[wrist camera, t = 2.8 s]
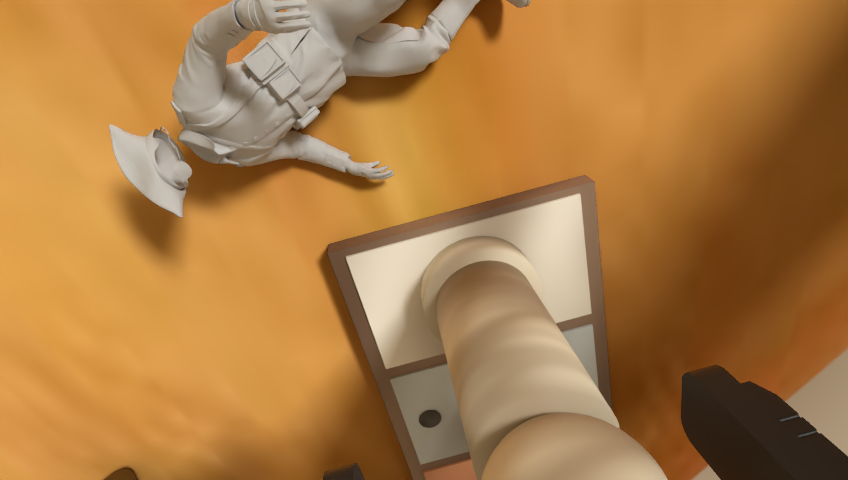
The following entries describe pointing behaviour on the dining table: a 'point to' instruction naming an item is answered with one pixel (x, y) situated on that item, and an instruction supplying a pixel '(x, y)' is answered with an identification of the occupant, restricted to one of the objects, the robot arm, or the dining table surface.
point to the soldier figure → (277, 85)
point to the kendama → (122, 475)
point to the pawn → (520, 373)
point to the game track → (424, 354)
